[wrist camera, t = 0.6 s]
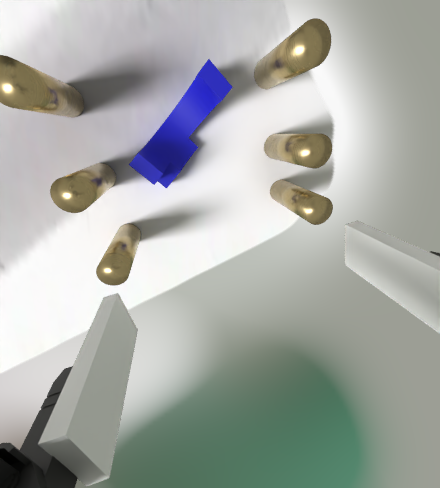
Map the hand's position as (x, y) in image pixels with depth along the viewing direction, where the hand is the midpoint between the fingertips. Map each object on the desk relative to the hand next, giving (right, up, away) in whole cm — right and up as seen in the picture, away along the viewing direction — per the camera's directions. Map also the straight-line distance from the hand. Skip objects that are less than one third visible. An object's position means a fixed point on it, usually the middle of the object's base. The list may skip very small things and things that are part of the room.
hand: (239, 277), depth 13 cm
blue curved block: (-6, +15, +15) cm, 22 cm away
